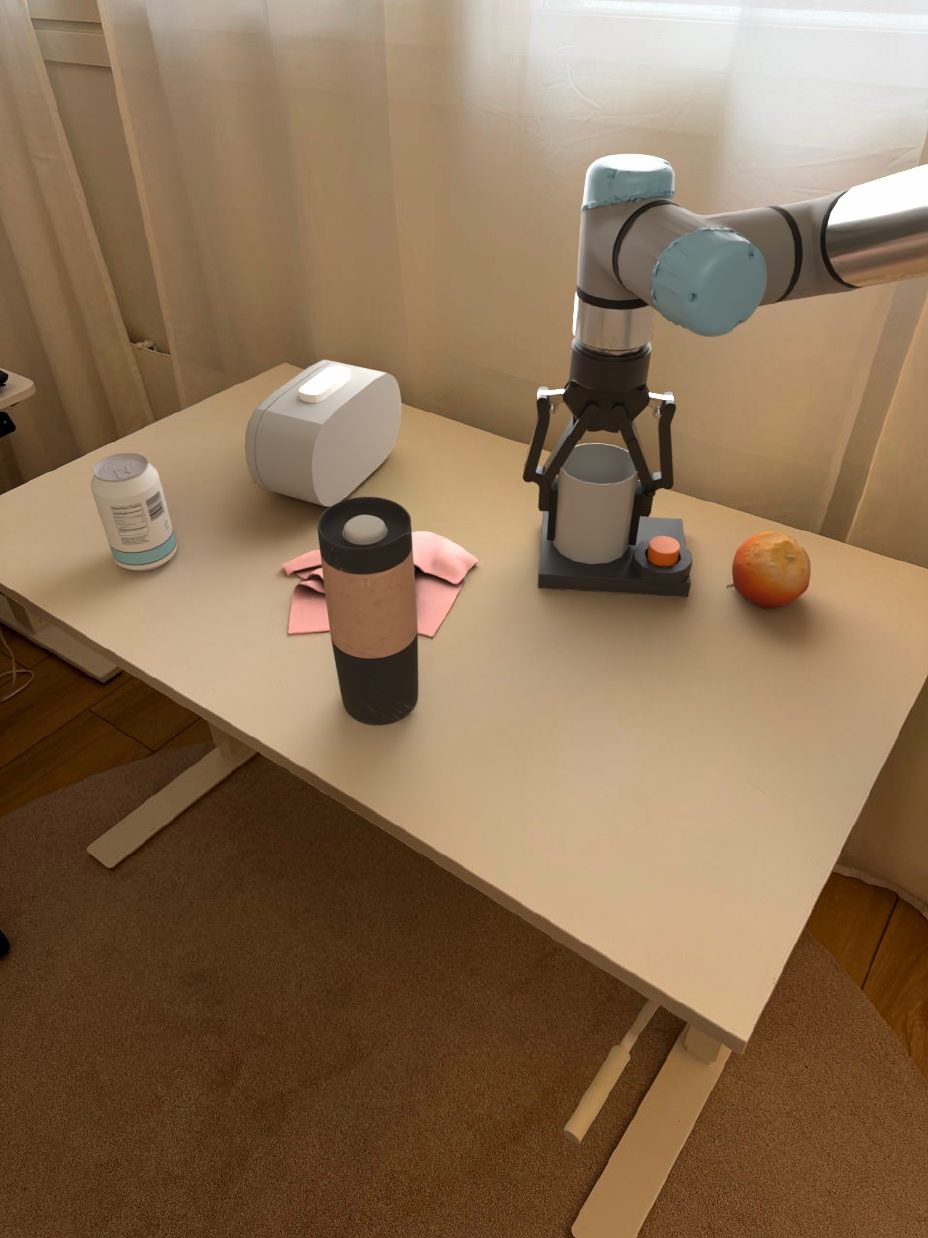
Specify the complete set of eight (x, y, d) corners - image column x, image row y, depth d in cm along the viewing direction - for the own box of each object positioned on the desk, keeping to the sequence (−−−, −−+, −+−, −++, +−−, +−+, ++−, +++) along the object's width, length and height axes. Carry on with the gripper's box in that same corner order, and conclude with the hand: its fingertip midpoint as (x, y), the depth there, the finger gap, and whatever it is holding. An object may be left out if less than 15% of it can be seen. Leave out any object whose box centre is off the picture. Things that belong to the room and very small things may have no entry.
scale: (679, 532, 104) (684, 507, 102) (689, 600, 95) (694, 574, 92) (542, 524, 105) (543, 499, 103) (537, 591, 96) (539, 565, 94)
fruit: (744, 545, 99) (790, 509, 93) (787, 603, 98) (837, 571, 91) (697, 573, 96) (742, 539, 89) (742, 634, 94) (790, 604, 87)
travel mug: (323, 696, 84) (296, 519, 71) (387, 658, 88) (372, 484, 75) (373, 741, 80) (354, 562, 67) (437, 699, 84) (431, 523, 71)
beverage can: (165, 533, 104) (140, 442, 97) (189, 562, 100) (165, 469, 92) (107, 554, 101) (76, 462, 93) (129, 585, 97) (99, 491, 89)
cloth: (500, 555, 101) (500, 538, 99) (400, 676, 86) (399, 658, 84) (348, 509, 108) (346, 492, 106) (232, 613, 93) (228, 595, 92)
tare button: (676, 549, 96) (678, 536, 95) (678, 567, 94) (681, 554, 93) (646, 548, 96) (648, 534, 95) (647, 566, 94) (650, 552, 93)
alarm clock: (343, 433, 122) (333, 338, 113) (403, 448, 119) (398, 352, 110) (253, 508, 108) (233, 407, 99) (319, 528, 105) (305, 425, 96)
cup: (541, 528, 101) (545, 451, 95) (605, 513, 104) (614, 437, 97) (573, 571, 95) (581, 491, 89) (641, 554, 98) (654, 475, 91)
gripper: (721, 327, 86) (684, 521, 101) (503, 319, 88) (498, 511, 103) (730, 360, 80) (690, 561, 95) (497, 351, 82) (493, 550, 97)
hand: (591, 535), depth 99 cm, fingers closed on cup, 8 cm apart
